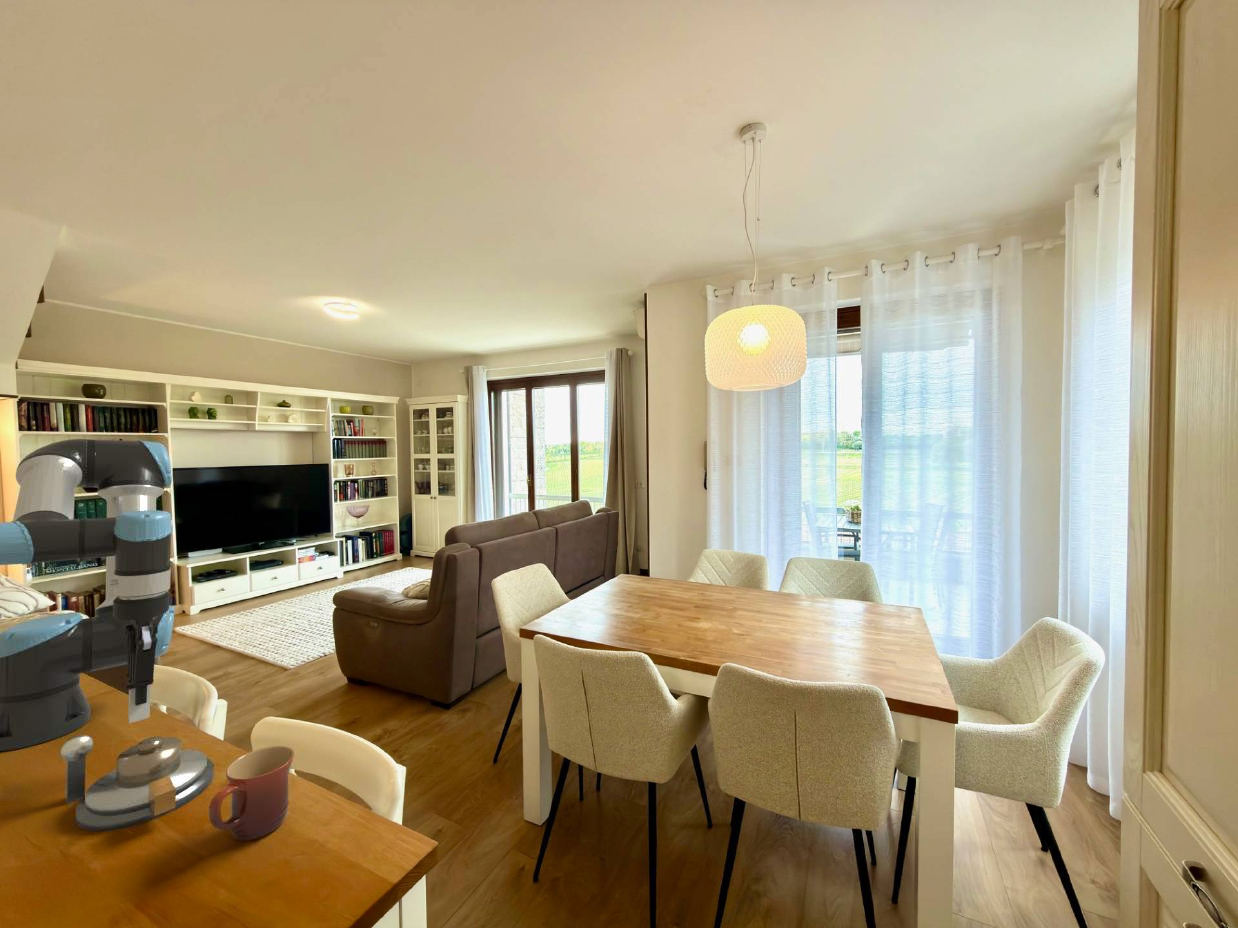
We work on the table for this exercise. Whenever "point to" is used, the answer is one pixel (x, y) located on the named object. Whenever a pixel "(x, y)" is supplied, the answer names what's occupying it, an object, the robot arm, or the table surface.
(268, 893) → the table surface
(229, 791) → the mug
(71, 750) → the dial stand
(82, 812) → the turntable base
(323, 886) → the table surface
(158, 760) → the cover
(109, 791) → the turntable
